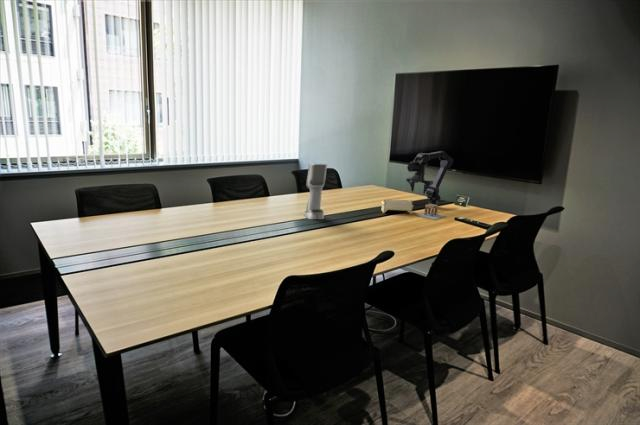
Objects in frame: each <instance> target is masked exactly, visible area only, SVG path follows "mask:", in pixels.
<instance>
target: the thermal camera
mask: <svg viewBox="0 0 640 425" xmlns="http://www.w3.org/2000/svg"><path fill="white" fill-rule="evenodd" d="M327 168H328V164H327V163H309V164H308V168H307V176H306V182H305V183H306V184H305V186H306V188H307V189H309V195H308V200H307V203H306V207H305V208H306V209H305V211H304V212H303V216H305V217H306V218H307V220H314V221H315V220H316V219H318V220H324V219H325V214H324V213H325V212H324V210H323V209H321V206H322V191H323V188H324V186H325V183H326V176H327Z"/></svg>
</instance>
